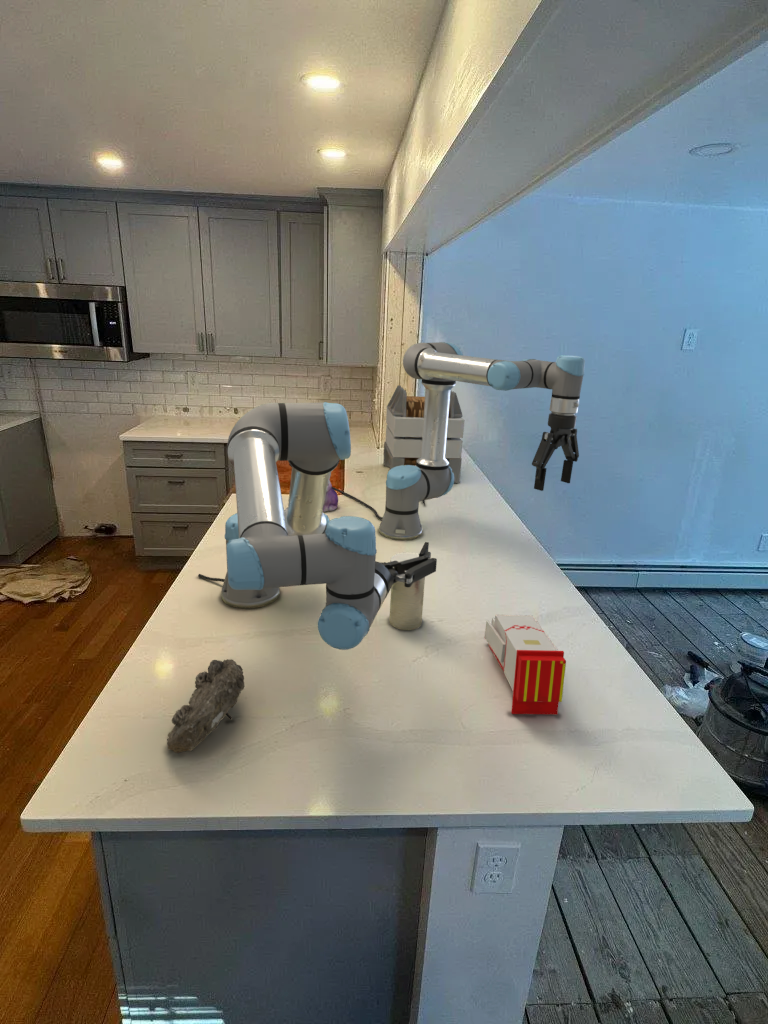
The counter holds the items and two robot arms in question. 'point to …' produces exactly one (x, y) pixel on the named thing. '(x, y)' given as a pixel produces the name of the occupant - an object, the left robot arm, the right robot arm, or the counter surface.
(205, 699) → the fossil
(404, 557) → the lid
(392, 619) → the jar
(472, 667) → the counter surface
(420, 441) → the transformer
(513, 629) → the toy
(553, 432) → the right robot arm
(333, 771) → the counter surface
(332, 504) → the figurine
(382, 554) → the counter surface
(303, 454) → the left robot arm
